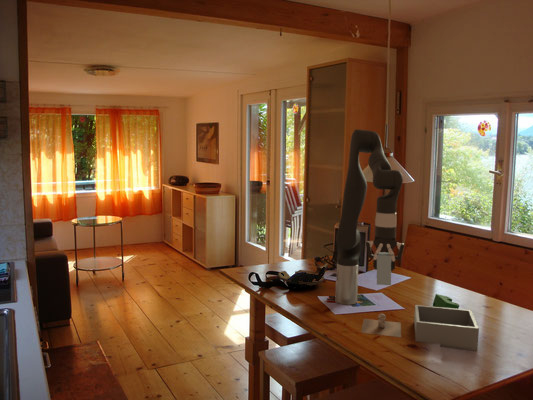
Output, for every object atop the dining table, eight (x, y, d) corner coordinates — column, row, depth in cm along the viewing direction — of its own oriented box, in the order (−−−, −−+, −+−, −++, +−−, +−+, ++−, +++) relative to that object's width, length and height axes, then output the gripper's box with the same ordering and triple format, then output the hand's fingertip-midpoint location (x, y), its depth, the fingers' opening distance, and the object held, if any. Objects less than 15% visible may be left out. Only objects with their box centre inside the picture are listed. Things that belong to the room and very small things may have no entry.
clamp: (452, 324, 192) (462, 309, 188) (438, 321, 192) (448, 305, 188) (444, 304, 203) (453, 289, 198) (431, 301, 202) (440, 286, 198)
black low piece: (270, 280, 237) (270, 265, 236) (323, 275, 247) (323, 261, 246) (286, 294, 216) (286, 278, 215) (343, 288, 226) (344, 272, 225)
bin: (415, 343, 164) (416, 322, 163) (414, 324, 181) (415, 304, 180) (477, 351, 158) (478, 328, 157) (469, 330, 176) (471, 310, 175)
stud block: (361, 335, 171) (361, 318, 170) (363, 321, 184) (364, 305, 183) (400, 339, 167) (401, 322, 166) (400, 325, 180) (401, 309, 180)
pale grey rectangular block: (377, 280, 176) (377, 252, 175) (391, 281, 175) (391, 252, 174) (376, 284, 171) (376, 255, 170) (390, 285, 170) (391, 255, 169)
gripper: (406, 224, 172) (403, 268, 174) (366, 221, 176) (364, 265, 178) (406, 227, 165) (404, 274, 167) (365, 225, 169) (363, 270, 171)
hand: (383, 269), depth 173 cm, fingers closed on pale grey rectangular block, 5 cm apart
